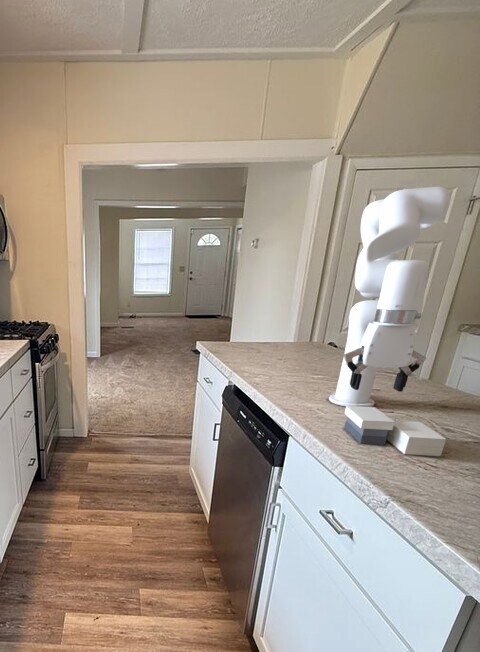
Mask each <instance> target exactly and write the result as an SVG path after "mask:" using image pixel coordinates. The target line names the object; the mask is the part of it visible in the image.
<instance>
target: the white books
mask: <svg viewBox="0 0 480 652" xmlns="http://www.w3.org/2000/svg"><path fill="white" fill-rule="evenodd" d="M393 421H394V422H395V423H394V426H393V430H388V433H387V436H386V437H387V438H386V441H388V442H389V443H390V444H391V445H392V446H393V447H395V448H396V449H398V451H400V452H401V453H402V454H403V455H413V456H427V457H428V456H429V457H442V453H443V450H444V447H445V445H446V442H447V438H446V437H444V436H442V435H441V434H439V433H438V432H437V431H435V430H434V429H432V428H431V427H429V426H427V425H425V423H423V422H421V421H406V420H405V421H404V420H393Z"/></svg>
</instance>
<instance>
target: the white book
mask: <svg viewBox="0 0 480 652" xmlns="http://www.w3.org/2000/svg"><path fill="white" fill-rule="evenodd" d="M344 415H345V416H346V417H349V418H350V419H351V420H352V421H353V422H354V423H355V424H356V425H358V426H359V427H360V428H362V429H381V430H393V426H394V423H395V422H394V421H395V420H393V419H392V418H390V417H389V416H387V415H386V414H385V413H384V412H382V411H381V410H379V409H378V408H377V407H375V406H372V407H356V406H346V407H345V409H344Z"/></svg>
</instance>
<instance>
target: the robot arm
mask: <svg viewBox="0 0 480 652" xmlns="http://www.w3.org/2000/svg"><path fill="white" fill-rule="evenodd" d="M450 204H451V195H450V191H449V190H448V189H447V188H446V187H444V186H428V187H426V186H425V187H413V188H404V189H399V190H396V191H393V192H392V193H390V194H388V195H387V196H386V197H385V198H382V199H378V200H375V201H372V202H370V203H369V204H367V205H366V206H365V208H364V209H363V212H362V214H361V219H360V238H361V243H362V249H361V251H360V253H359V254H358V257H357V260H356V266H355V273H354V274H355V275H354V287H355V289H356V290H357V291H358V292H359V294H360V296H361V297H363V298H368V299H367V300H361V301H359V302H357V303H355V304H354V305H353V306H352V307H351V308H350V311H349V314H348V315H349V316H348V329H347V330H348V331H347V338H346V339H347V340H346V343H345V349H344V352H343V353H344V354H343V359H342V363H341V368H340V372H339V375H338V376H339V377H338V381H337V386H336V389H335V393H333V394H331V395H329V396H328V400H329V402H331V403H332V404H335V405H337V406H342V407H345V408H346V406H356V407H375V400H373V399H372V398H371V395H372V391H373V387H374V383H375V379H376V376H377V372H378V368H397V369H398V370H399V372H397V373H396V376H395V379H394V383H393V390H395V391H396V392H397V391H398V392H399V393H402V392H403V391H404V388H406V385H407V382H408V378H409V377H410V376H411V375H412V374H413V373H414V372H416V371H417V370H418V369H420V366H421V365H422V364H423V363H424V362H425V361H426V360H427V357H426V356H425V355H423V354H421V353H419V352H418V351H416V350H414V346H415V342H416V341H415V340H416V330H417V329H418V327H419V326H420V323H421V318H422V315H423V314H422V313H423V306H424V300H425V293H426V286H427V279H428V274H429V263H428V262H427V261H426V260H422V259H398V257H399V252H403V251H404V250H407V249H408V248H410V247H411V246H412V245H414V244H415V243H416V241H417V240H418V238H419V237H420V234H421V230H425V229H429V228H430V227H434V226H435V225H437V224H439V223H440V222H441V221H442V220H443V219H444V218H445V216H446V214H447V213H448V210H449V208H450ZM369 299H370V300H369ZM412 358H414V361H413V362H411V360H412ZM410 362H411V363H410Z"/></svg>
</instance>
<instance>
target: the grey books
mask: <svg viewBox="0 0 480 652" xmlns="http://www.w3.org/2000/svg"><path fill="white" fill-rule="evenodd" d="M346 417H347V418H346V420H345V422H344V427H343V428H344V429H345V431H347V432H348V433H349V434H350V435H351V436H352V437H353V438H354V439H355V440H356V441H357V442H358V443H359V444H365V445H380V446H384V445H385V444H386V441H387V439H386V438H387V437H386V436H387V433H388V430H381V429H362V428H360V427H359V426H358V425H356V424H355V423H354V422H353V421H352V420H351V419H350V418H349V417H348V416H346Z"/></svg>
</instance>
